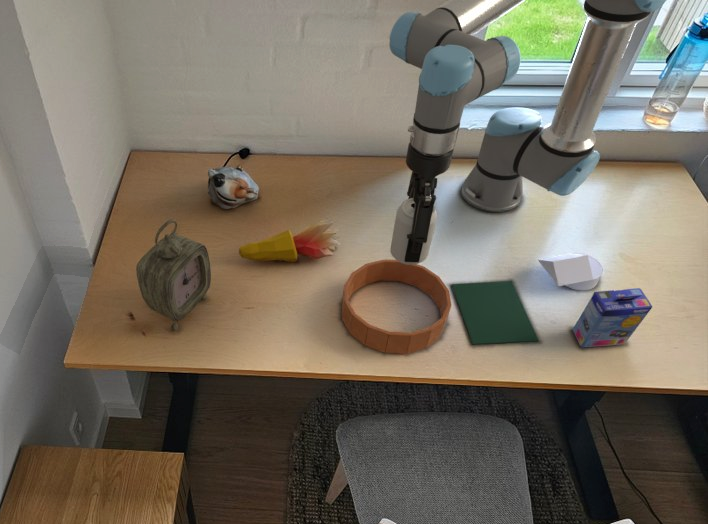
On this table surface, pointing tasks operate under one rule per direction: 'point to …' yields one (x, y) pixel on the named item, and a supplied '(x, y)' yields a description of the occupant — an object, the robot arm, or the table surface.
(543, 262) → the wedge on round base
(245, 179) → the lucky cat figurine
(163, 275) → the tabletop clock
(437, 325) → the brown wooden ring
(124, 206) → the table surface
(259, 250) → the torch
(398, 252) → the can
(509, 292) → the felt mat
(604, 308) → the ink cartridge box
